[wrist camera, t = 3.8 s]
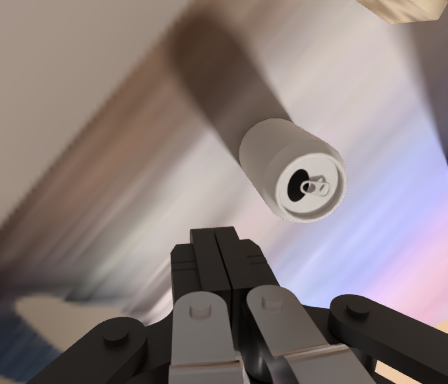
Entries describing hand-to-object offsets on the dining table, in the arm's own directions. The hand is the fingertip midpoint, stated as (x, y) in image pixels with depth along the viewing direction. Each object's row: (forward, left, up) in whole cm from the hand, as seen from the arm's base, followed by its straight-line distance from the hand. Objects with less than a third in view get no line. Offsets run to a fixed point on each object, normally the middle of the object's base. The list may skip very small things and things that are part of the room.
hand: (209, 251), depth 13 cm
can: (-11, +4, -27) cm, 30 cm away
